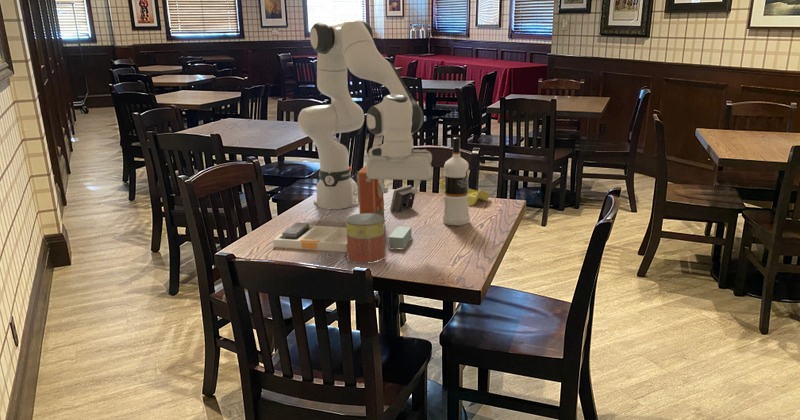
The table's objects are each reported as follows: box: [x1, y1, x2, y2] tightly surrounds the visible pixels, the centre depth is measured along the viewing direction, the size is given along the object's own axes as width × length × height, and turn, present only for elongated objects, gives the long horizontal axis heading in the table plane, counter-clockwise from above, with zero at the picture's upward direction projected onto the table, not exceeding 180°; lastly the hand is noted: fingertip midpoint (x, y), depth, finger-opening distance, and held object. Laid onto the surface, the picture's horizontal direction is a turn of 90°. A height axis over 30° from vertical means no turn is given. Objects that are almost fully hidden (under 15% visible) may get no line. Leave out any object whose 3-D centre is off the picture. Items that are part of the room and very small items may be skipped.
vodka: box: [442, 136, 471, 227], centre depth 206 cm, size 9×9×30 cm
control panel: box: [356, 164, 386, 222], centre depth 203 cm, size 21×7×15 cm
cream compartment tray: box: [272, 224, 348, 254], centre depth 193 cm, size 16×24×3 cm, turn 76°
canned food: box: [345, 213, 386, 264], centre depth 179 cm, size 11×11×12 cm
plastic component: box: [439, 178, 490, 207], centre depth 239 cm, size 20×7×10 cm
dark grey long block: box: [281, 222, 310, 240], centre depth 195 cm, size 11×4×4 cm, turn 166°
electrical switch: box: [389, 184, 416, 214], centre depth 225 cm, size 9×5×9 cm, turn 138°
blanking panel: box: [388, 225, 413, 249], centre depth 191 cm, size 11×4×4 cm, turn 165°
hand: (399, 193), depth 187 cm, fingers open, 8 cm apart
